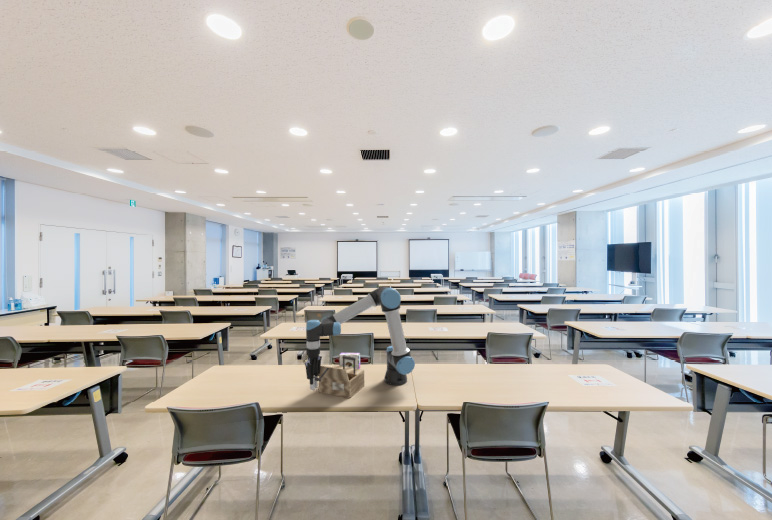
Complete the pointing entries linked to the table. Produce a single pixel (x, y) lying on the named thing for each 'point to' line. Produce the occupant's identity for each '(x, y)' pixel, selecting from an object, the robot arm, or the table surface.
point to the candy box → (350, 362)
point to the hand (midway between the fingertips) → (313, 388)
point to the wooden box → (342, 385)
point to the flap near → (332, 374)
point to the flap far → (349, 370)
